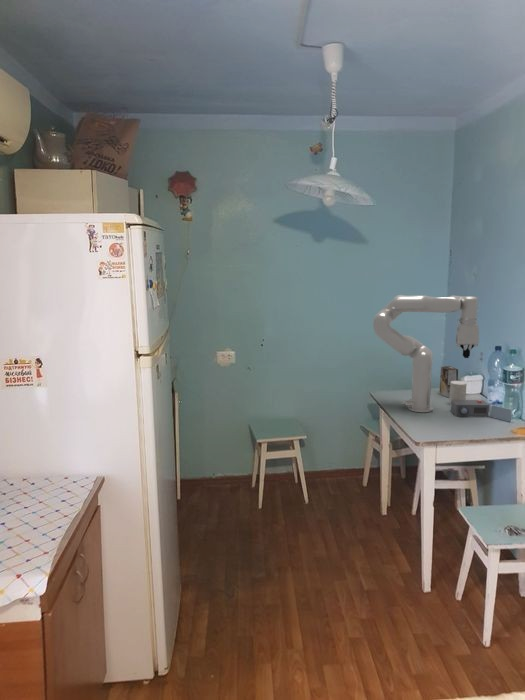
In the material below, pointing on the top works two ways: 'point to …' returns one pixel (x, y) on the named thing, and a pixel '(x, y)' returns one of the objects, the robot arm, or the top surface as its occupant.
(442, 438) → the top surface
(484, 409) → the camera body
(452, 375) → the coffee box
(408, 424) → the top surface
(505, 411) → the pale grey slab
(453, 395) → the cup
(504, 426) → the top surface
